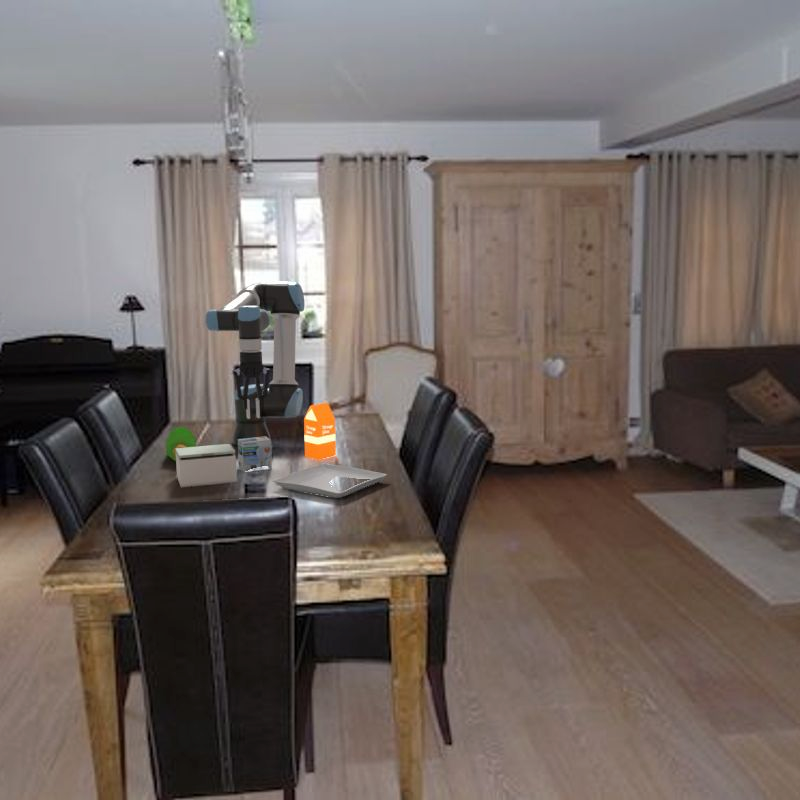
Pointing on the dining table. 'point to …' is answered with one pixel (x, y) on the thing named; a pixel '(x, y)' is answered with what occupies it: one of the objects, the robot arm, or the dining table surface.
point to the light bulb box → (254, 453)
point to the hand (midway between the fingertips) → (253, 417)
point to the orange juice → (319, 432)
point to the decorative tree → (179, 441)
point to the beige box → (206, 470)
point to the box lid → (204, 450)
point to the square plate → (327, 479)
